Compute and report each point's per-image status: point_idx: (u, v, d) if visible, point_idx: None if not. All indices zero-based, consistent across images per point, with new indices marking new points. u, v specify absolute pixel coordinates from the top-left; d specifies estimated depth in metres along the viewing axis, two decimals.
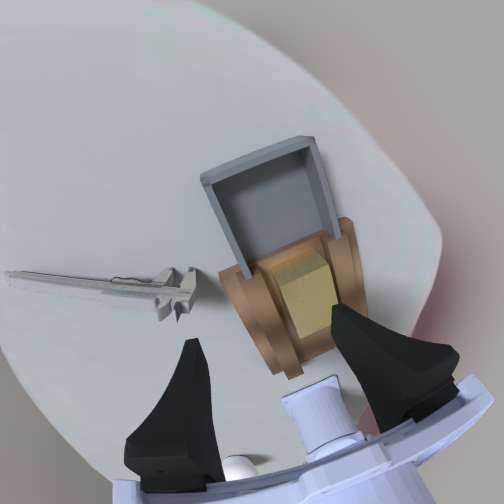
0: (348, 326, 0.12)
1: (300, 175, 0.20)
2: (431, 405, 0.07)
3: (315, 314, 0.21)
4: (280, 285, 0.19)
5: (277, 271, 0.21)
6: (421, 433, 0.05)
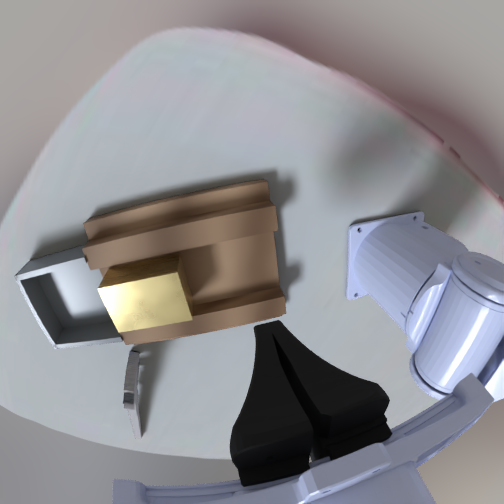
0: (278, 347, 0.12)
1: None
2: (351, 447, 0.07)
3: (158, 303, 0.18)
4: (118, 330, 0.18)
5: None
6: (421, 433, 0.05)
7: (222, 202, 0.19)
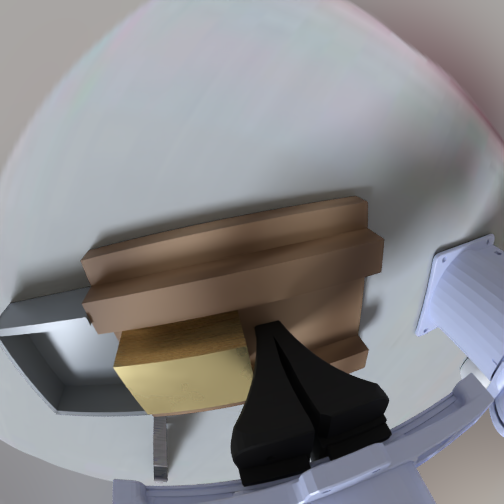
0: (277, 347, 0.12)
1: None
2: (351, 447, 0.07)
3: (212, 384, 0.11)
4: (146, 412, 0.12)
5: None
6: (421, 433, 0.05)
7: (306, 230, 0.12)
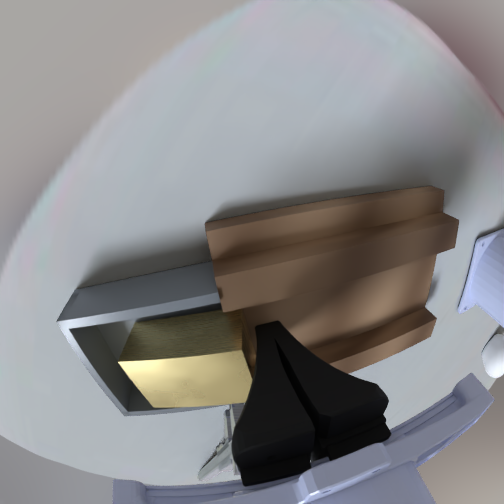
0: (277, 347, 0.12)
1: None
2: (350, 447, 0.07)
3: (211, 384, 0.12)
4: (153, 405, 0.13)
5: None
6: (421, 433, 0.05)
7: (406, 211, 0.13)
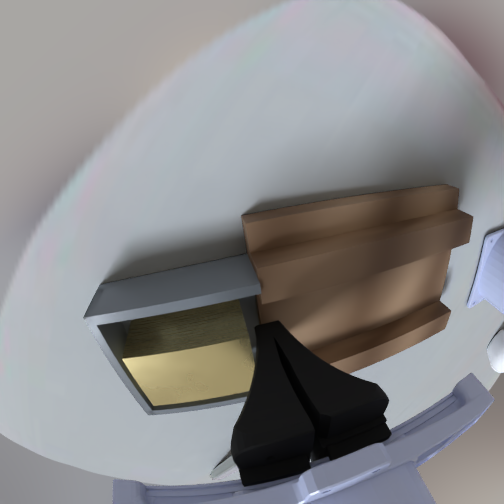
0: (277, 347, 0.12)
1: None
2: (350, 447, 0.07)
3: (216, 375, 0.12)
4: (152, 403, 0.12)
5: None
6: (421, 433, 0.05)
7: (426, 207, 0.13)
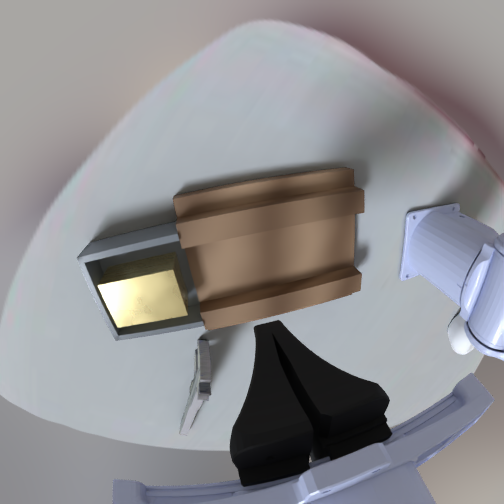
0: (278, 347, 0.12)
1: None
2: (351, 447, 0.07)
3: (155, 299, 0.19)
4: (117, 325, 0.19)
5: None
6: (421, 433, 0.05)
7: (316, 185, 0.20)
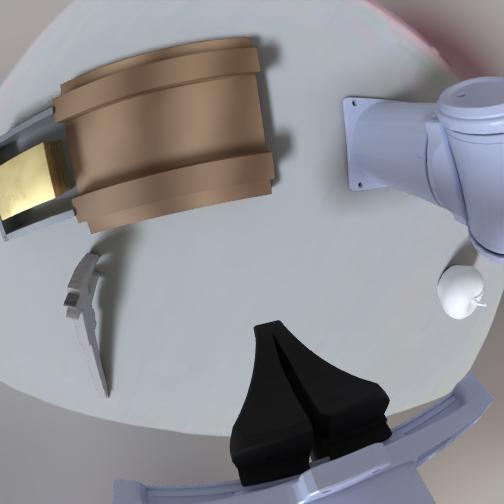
0: (278, 347, 0.12)
1: (21, 144, 0.14)
2: (351, 447, 0.07)
3: (29, 180, 0.13)
4: (2, 218, 0.14)
5: None
6: (421, 433, 0.05)
7: (202, 52, 0.14)
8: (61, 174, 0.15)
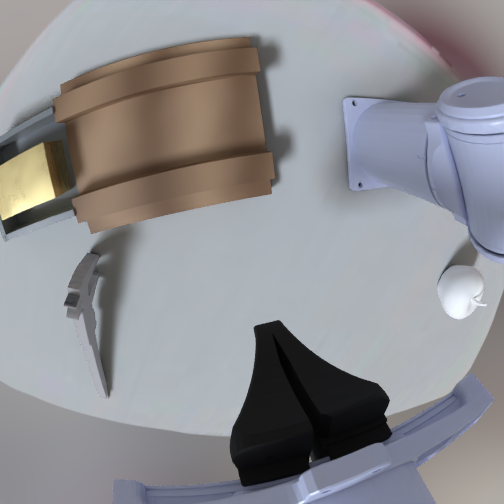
0: (278, 347, 0.12)
1: (21, 144, 0.14)
2: (351, 447, 0.07)
3: (29, 180, 0.13)
4: (2, 218, 0.14)
5: None
6: (421, 433, 0.05)
7: (202, 52, 0.14)
8: (61, 174, 0.15)
